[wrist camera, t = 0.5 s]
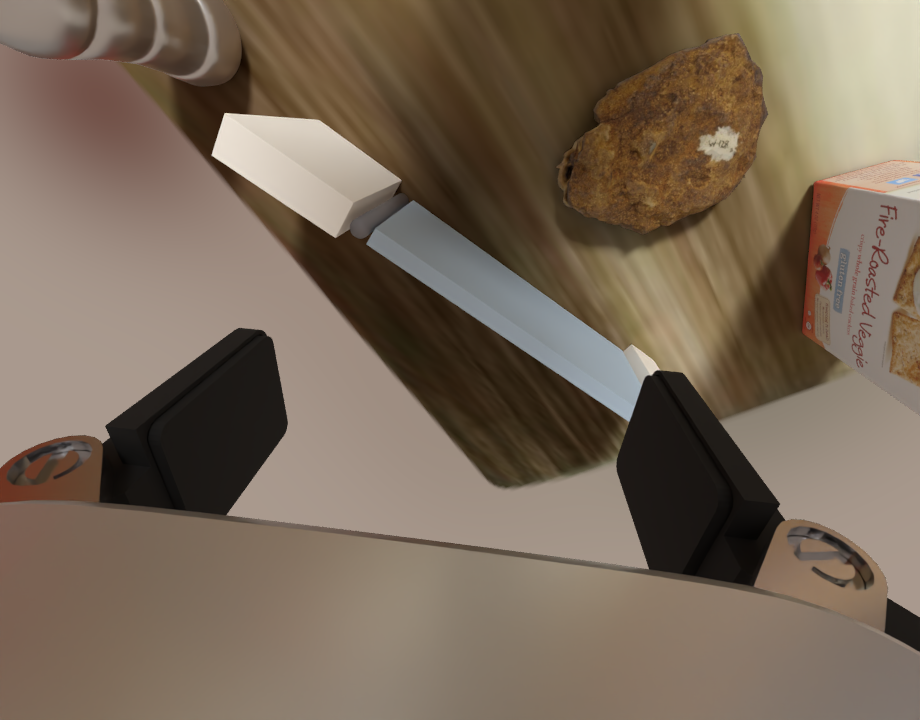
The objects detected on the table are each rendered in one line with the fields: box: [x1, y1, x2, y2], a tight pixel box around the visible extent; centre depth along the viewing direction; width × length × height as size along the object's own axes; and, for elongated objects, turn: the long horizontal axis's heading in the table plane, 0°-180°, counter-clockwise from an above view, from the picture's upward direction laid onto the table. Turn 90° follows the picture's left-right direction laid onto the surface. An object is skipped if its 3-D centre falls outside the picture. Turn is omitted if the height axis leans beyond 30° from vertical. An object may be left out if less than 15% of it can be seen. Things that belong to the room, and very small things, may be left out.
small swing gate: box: [212, 113, 660, 386], centre depth 32 cm, size 38×3×13 cm, turn 56°
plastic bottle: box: [0, 0, 242, 87], centre depth 23 cm, size 6×7×20 cm
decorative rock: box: [556, 33, 768, 235], centre depth 31 cm, size 11×4×15 cm
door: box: [350, 193, 642, 422], centre depth 33 cm, size 26×3×12 cm, turn 56°
